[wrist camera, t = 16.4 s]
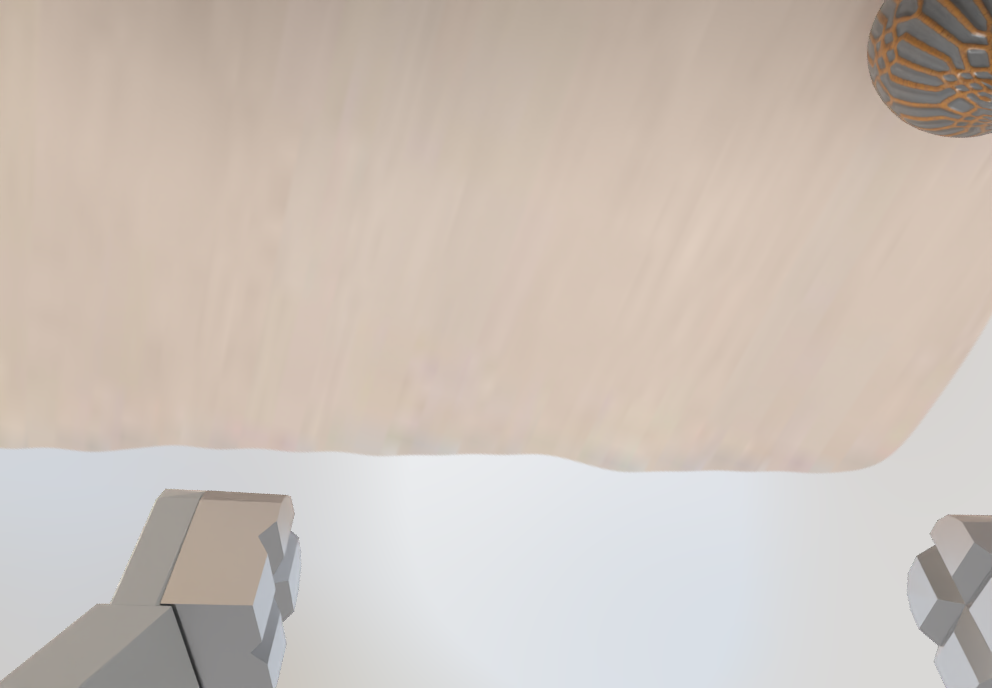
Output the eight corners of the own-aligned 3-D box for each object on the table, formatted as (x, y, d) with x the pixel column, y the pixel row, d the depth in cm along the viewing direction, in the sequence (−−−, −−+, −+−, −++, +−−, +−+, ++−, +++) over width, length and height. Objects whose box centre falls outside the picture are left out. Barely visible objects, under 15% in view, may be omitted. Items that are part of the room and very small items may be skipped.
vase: (931, -95, 34) (1043, -45, 27) (1042, -9, 36) (1172, 57, 29) (814, 52, 37) (886, 128, 30) (922, 121, 39) (1012, 208, 32)
